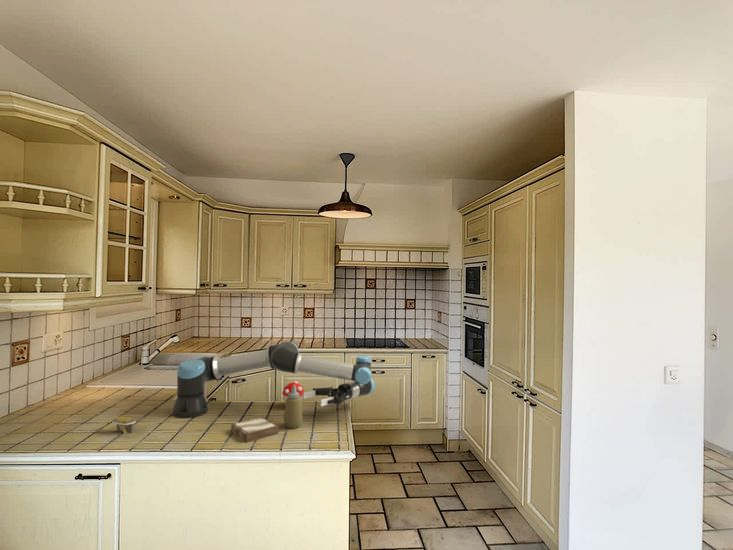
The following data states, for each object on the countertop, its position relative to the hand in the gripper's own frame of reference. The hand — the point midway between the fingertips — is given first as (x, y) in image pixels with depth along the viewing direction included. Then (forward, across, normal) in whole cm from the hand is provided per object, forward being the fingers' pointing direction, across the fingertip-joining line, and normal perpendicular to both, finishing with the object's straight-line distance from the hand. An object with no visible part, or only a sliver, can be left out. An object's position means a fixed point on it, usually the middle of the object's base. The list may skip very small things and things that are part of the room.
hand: (311, 399), depth 184 cm
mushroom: (-4, +22, -10) cm, 25 cm away
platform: (+67, +38, -11) cm, 77 cm away
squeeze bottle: (+10, 0, -10) cm, 14 cm away
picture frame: (+26, +4, -10) cm, 28 cm away
